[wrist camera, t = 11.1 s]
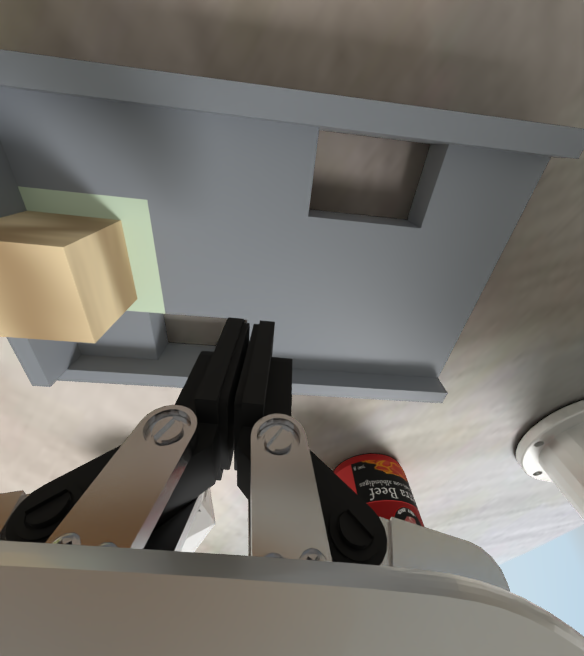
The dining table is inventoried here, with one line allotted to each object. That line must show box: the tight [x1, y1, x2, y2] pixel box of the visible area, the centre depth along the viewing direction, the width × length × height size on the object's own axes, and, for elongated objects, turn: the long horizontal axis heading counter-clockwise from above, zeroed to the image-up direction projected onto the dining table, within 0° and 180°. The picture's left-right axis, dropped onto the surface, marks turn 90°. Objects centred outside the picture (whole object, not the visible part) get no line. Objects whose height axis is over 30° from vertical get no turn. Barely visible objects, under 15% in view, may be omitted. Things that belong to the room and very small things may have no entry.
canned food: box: [334, 454, 424, 527], centre depth 27 cm, size 8×8×11 cm
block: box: [0, 211, 137, 343], centre depth 14 cm, size 4×4×4 cm
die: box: [181, 488, 215, 552], centre depth 28 cm, size 8×9×10 cm
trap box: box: [0, 49, 584, 403], centre depth 16 cm, size 26×16×5 cm, turn 84°
